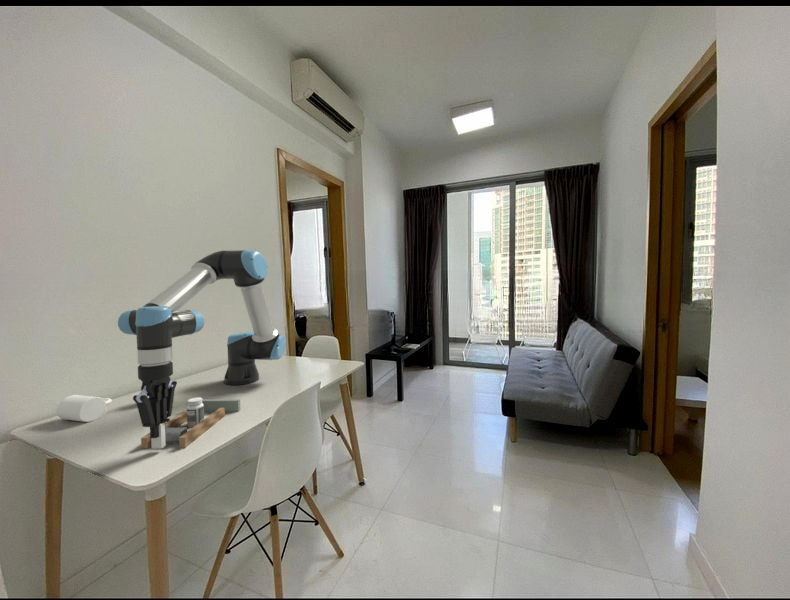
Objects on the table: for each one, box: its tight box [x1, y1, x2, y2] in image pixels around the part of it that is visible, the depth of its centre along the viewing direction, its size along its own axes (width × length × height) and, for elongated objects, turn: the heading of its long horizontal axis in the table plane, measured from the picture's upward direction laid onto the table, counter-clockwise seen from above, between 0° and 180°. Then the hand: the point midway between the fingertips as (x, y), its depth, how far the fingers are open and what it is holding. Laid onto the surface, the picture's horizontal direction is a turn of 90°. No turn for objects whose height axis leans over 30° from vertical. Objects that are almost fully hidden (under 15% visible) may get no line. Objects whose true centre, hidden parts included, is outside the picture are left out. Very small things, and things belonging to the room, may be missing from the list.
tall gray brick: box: [165, 427, 188, 445], centre depth 89 cm, size 3×7×4 cm, turn 92°
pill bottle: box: [186, 396, 205, 428], centre depth 100 cm, size 5×5×8 cm
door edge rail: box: [202, 398, 241, 413], centre depth 111 cm, size 2×18×4 cm, turn 92°
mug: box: [55, 394, 113, 423], centre depth 106 cm, size 12×10×8 cm
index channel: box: [140, 408, 226, 449], centre depth 96 cm, size 21×12×3 cm, turn 2°
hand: (158, 446), depth 84 cm, fingers closed
